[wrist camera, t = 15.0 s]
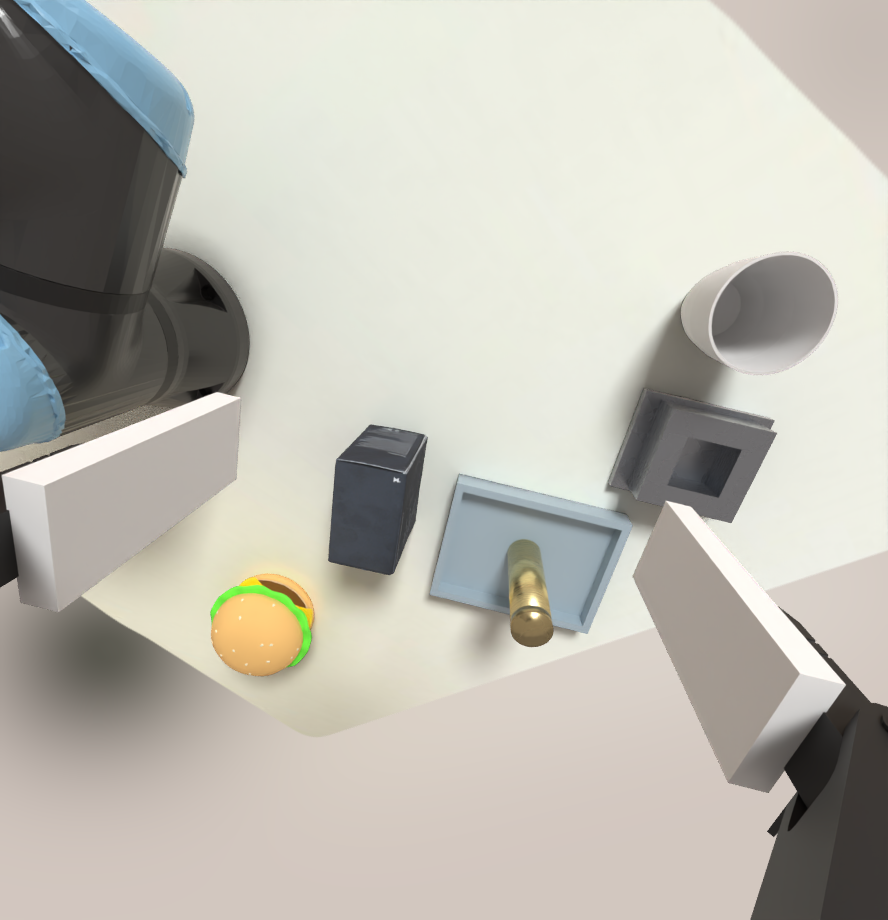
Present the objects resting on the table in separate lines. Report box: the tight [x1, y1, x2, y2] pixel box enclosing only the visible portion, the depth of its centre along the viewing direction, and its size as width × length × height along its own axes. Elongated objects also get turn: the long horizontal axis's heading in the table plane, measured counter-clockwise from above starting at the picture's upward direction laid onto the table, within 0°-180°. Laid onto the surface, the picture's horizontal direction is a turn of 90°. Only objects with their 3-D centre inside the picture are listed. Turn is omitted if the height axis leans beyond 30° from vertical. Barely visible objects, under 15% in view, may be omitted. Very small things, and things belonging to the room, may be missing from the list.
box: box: [328, 425, 428, 575], centre depth 46 cm, size 11×7×10 cm, turn 171°
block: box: [608, 388, 777, 523], centre depth 44 cm, size 12×10×4 cm
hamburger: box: [211, 574, 314, 676], centre depth 54 cm, size 12×12×9 cm
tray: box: [430, 474, 633, 634], centre depth 51 cm, size 18×14×2 cm
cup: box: [681, 252, 838, 375], centre depth 37 cm, size 8×8×10 cm
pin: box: [507, 539, 553, 647], centre depth 46 cm, size 4×4×12 cm
